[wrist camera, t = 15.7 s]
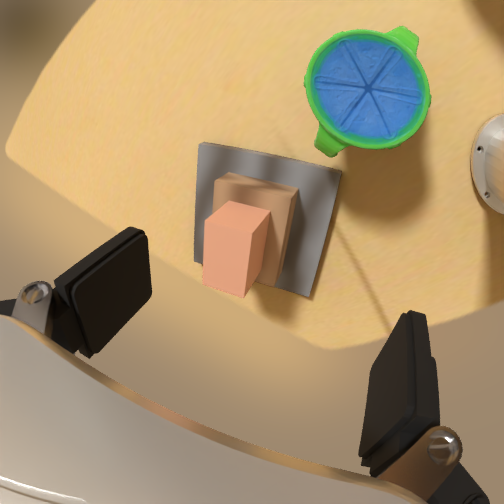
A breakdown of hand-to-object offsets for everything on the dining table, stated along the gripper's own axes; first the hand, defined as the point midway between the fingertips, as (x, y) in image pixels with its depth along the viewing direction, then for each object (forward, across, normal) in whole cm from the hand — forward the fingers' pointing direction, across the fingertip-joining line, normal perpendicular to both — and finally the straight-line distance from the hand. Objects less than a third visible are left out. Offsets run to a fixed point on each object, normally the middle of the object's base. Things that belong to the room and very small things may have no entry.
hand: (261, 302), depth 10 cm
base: (+28, +8, +11) cm, 31 cm away
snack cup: (+28, -2, -8) cm, 30 cm away
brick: (+23, +8, +11) cm, 27 cm away
